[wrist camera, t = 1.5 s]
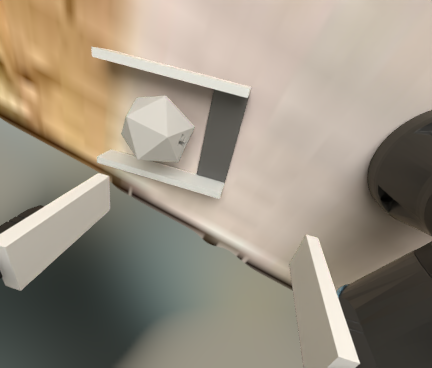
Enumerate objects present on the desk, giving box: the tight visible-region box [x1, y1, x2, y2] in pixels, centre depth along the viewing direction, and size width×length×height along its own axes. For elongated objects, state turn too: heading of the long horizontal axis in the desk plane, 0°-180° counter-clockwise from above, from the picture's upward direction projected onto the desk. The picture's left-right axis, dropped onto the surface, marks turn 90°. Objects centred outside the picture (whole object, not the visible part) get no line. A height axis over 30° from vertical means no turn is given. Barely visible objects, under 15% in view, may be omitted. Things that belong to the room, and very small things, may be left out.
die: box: [121, 96, 195, 162], centre depth 28 cm, size 8×9×10 cm
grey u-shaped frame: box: [92, 47, 251, 199], centre depth 30 cm, size 19×15×4 cm
